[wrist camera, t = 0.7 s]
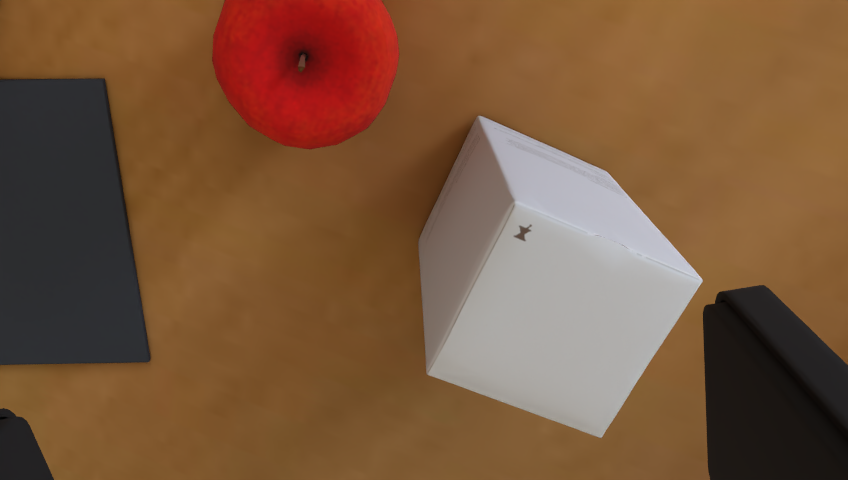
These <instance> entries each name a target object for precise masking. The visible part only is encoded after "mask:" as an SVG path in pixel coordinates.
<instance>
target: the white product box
mask: <svg viewBox="0 0 848 480" xmlns="http://www.w3.org/2000/svg"><path fill="white" fill-rule="evenodd" d="M418 246H419V261H420V276H421V291H422V305H423V320H424V335H425V353H426V371H427V375H430V376H433V377H435V378H438V379H441V380H444V381H447V382H449V383H452V384H455V385H458V386H460V387H463V388H466V389H468V390H471V391H474V392H477V393H479V394H482V395H485V396H487V397H490V398H493V399H496V400H498V401H501V402H504V403H506V404H509V405H512V406H515V407H517V408H520V409H523V410H526V411H528V412H531V413H534V414H536V415H539V416H542V417H545V418H547V419H550V420H553V421H556V422H559V423H561V424H564V425H567V426H570V427H573V428H575V429H578V430H581V431H583V432H586V433H589V434H591V435H594V436H596V437H599V438H602V436H603V435H604V433H605V431H606V429H607V428H608V426H609V425H610V423H611V422H612V420H613V419H614V417H615V416H616V414H617V413H618V411H619V410H620V408H621V406H622V405H623V403H624V402H625V400H626V398H627V397H628V395H629V394H630V392H631V390H632V389H633V387H634V385H635V384H636V382H637V381H638V379H639V378H640V376H641V375H642V373H643V372H644V370H645V368H646V367H647V365H648V364H649V362H650V361H651V359H652V358H653V356H654V355H655V353H656V352H657V350H658V349H659V347H660V346H661V344H662V343H663V341H664V339H665V338H666V336H667V335H668V334H669V332H670V331H671V329H672V328H673V326H674V325H675V323H676V321H677V320H678V318H679V317H680V315H681V314H682V312H683V311H684V309H685V308H686V306H687V305H688V303H689V301H690V300H691V298H692V297H693V295H694V293H695V292H696V290H697V289H698V287H699V286H700V285H701V283H702V281H703V280H702V279H701V277H700V276H699V275H698V274H697V273H696V271H695V270H694V269H693V268H692V267H691V266H690V265H689V263H688V262H687V261H686V260H685V259H684V258H683V257H682V256H681V254H680V253H679V252H678V251H677V250H676V249H675V248H674V247H673V245H672V244H671V243H670V242H669V241H668V240H667V239H666V238H665V237H664V235H663V234H662V233H661V232H660V231H659V230H658V229H657V228H656V226H655V225H654V224H653V223H652V222H651V221H650V220H649V219H648V217H647V216H646V215H645V214H644V213H643V212H642V211H641V210H640V208H639V207H638V206H637V205H636V204H635V203H634V202H633V201H632V199H631V198H630V197H629V196H628V195H627V194H626V193H625V192H624V191H623V189H622V188H621V187H620V186H619V185H618V184H617V182H616V181H615V180H614V179H613V178H612V177H611V176H610V174H609V173H608V172H606V171H604V170H602V169H600V168H598V167H595V166H593V165H591V164H589V163H586V162H584V161H582V160H580V159H577V158H575V157H573V156H571V155H568V154H566V153H564V152H562V151H560V150H557V149H555V148H553V147H551V146H548V145H546V144H544V143H541V142H539V141H537V140H535V139H532V138H530V137H528V136H526V135H523V134H521V133H519V132H516V131H514V130H512V129H510V128H507V127H505V126H503V125H501V124H498V123H496V122H494V121H492V120H489V119H487V118H485V117H482V116H477V118H476V119H475V121H474V123H473V125H472V127H471V129H470V132H469V134H468V136H467V138H466V140H465V142H464V144H463V146H462V148H461V151H460V153H459V155H458V157H457V159H456V161H455V163H454V165H453V167H452V170H451V172H450V174H449V176H448V178H447V180H446V182H445V184H444V186H443V189H442V191H441V193H440V195H439V197H438V199H437V201H436V203H435V205H434V207H433V209H432V212H431V214H430V216H429V218H428V220H427V222H426V224H425V226H424V229H423V231H422V233H421V235H420V238H419V242H418Z"/></svg>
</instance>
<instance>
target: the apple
mask: <svg viewBox="0 0 848 480" xmlns="http://www.w3.org/2000/svg"><path fill="white" fill-rule="evenodd" d="M398 59H399V49H398V38H397V34H396V31H395V28H394V25H393V22H392V19H391V17H390V15H389V13H388V12H387V10H386V8H385V6H384V4H383V2H382V1H381V0H225V2H224V5H223V8H222V11H221V14H220V17H219V20H218V23H217V26H216V29H215V32H214V35H213V57H212V61H213V65H214V69H215V73H216V78H217V80H218V82H219V84H220V86H221V88H222V90H223V92H224V93H225V95H226V97H227V99H228V101H229V103H230V104H231V105H232V106H233V107H234V109H235V110H236V111H237V112H238V113H239V114H240V116H241V117H242V118H243V119H244V120H245V121H246V123H247V124H248V125H249V126H250V127H252V128H253V129H255V130H257V131H259V132H260V133H262V134H264V135H265V136H267V137H269V138H271V139H272V140H274V141H276V142H278V143H280V144H282V145H284V146H290V147H297V148H304V149H314V148H320V147H326V146H331V145H337V144H339V143H341V142H343V141H345V140H347V139H349V138H351V137H353V136H355V135H356V134H358V133H360V132H362V131H363V130H365V129H367V128H368V127H369V125H370V124H371V123H372V122H373V121H374V119H375V118H376V117H377V115H378V114H379V112H380V111H381V109H382V108H383V107H384V105H385V103H386V100H387V98H388V95H389V92H390V89H391V86H392V83H393V81H394V78H395V75H396V71H397V65H398Z"/></svg>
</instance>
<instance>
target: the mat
mask: <svg viewBox="0 0 848 480" xmlns="http://www.w3.org/2000/svg"><path fill="white" fill-rule="evenodd" d="M149 361H150V353H149V347H148V341H147V335H146V329H145V323H144V316H143V310H142V304H141V298H140V292H139V286H138V280H137V274H136V268H135V261H134V255H133V249H132V243H131V237H130V231H129V225H128V219H127V212H126V206H125V200H124V194H123V188H122V182H121V176H120V170H119V163H118V157H117V151H116V145H115V139H114V133H113V127H112V121H111V114H110V108H109V102H108V96H107V90H106V84H105V79H5V80H0V365H10V364H70V363H131V362H149Z"/></svg>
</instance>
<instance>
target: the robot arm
mask: <svg viewBox="0 0 848 480" xmlns="http://www.w3.org/2000/svg"><path fill="white" fill-rule="evenodd" d="M703 330H704V360H705V390H706V420H707V449H708V470H709V476H710V480H848V365H847V364H846V363H845V362H844V361H843V360H842V359H841V358H840V357H839V356H838V355H837V354H835V353H834V352H833V351H832V350H831V349H830V348H829V347H828V346H827V345H826V344H825V343H824V342H823V341H822V340H821V339H820V338H819V337H818V336H817V335H816V334H815V333H814V332H813V331H812V330H811V329H810V328H809V327H808V326H807V325H806V324H805V323H804V322H803V321H801V320H800V319H799V318H798V317H797V316H796V315H795V314H794V313H793V312H792V311H791V310H790V309H789V308H788V307H787V306H786V305H785V304H784V303H783V302H782V301H781V300H780V299H779V298H778V297H777V296H776V295H775V294H774V293H773V292H772V291H771V290H770V289H769V288H767V287H766V286H764V285H759V286H753V287H747V288H741V289H735V290H728V291H722V292H719V293H718V294H717V297H716V300H715V304H710V305H706V306H705V307H704V311H703ZM0 480H54V479H53V477H52V474H51V472H50V470H49V468H48V465H47V463H46V461H45V459H44V457H43V454H42V452H41V450H40V448H39V445H38V443H37V441H36V439H35V437H34V434H33V432H32V430H31V428H30V426H29V424H28V422H27V421H26V420H25V419H24V418H22V417H16V416H15V414H14V413H13V412H11V411H10V410H8V409H4V408H3V409H0Z"/></svg>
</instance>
